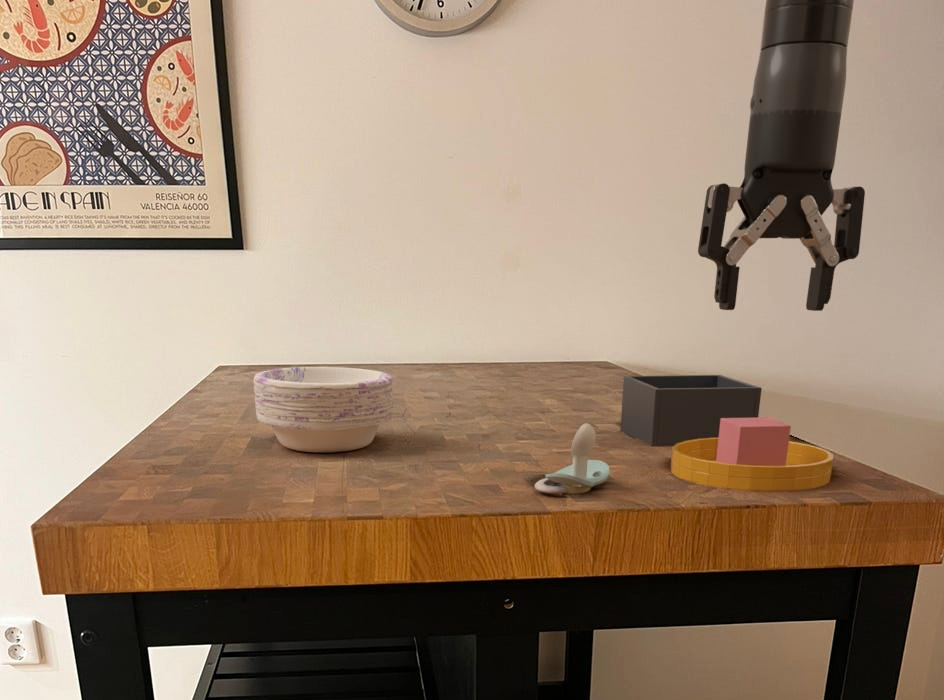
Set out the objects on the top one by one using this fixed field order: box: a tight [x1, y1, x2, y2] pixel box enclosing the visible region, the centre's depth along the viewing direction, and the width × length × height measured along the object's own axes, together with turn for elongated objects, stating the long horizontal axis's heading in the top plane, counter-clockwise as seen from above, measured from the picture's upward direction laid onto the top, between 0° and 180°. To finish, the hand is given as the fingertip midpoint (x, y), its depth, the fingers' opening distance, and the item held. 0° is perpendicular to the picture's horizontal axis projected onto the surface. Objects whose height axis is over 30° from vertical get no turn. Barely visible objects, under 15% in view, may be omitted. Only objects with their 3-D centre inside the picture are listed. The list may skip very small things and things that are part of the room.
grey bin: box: [620, 374, 762, 448], centre depth 112 cm, size 12×12×6 cm
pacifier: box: [534, 422, 611, 495], centre depth 87 cm, size 7×6×6 cm
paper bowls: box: [252, 366, 394, 454], centre depth 107 cm, size 15×15×8 cm
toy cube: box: [716, 416, 792, 466], centre depth 93 cm, size 5×5×5 cm
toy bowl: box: [670, 437, 835, 492], centre depth 94 cm, size 15×15×2 cm
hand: (770, 310), depth 89 cm, fingers open, 8 cm apart
